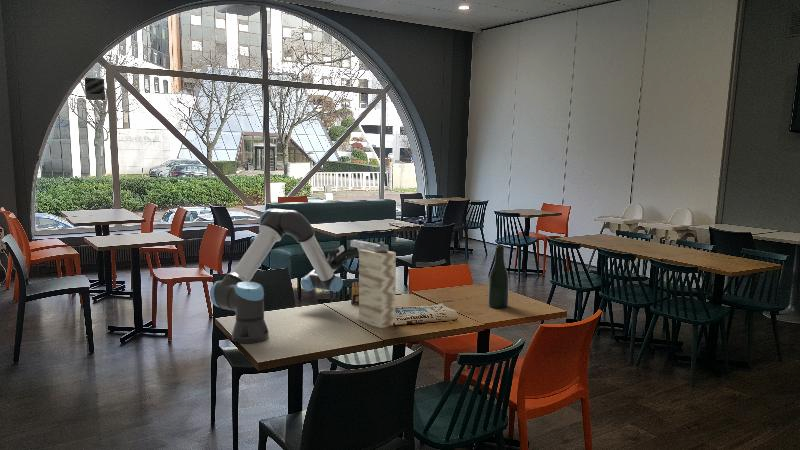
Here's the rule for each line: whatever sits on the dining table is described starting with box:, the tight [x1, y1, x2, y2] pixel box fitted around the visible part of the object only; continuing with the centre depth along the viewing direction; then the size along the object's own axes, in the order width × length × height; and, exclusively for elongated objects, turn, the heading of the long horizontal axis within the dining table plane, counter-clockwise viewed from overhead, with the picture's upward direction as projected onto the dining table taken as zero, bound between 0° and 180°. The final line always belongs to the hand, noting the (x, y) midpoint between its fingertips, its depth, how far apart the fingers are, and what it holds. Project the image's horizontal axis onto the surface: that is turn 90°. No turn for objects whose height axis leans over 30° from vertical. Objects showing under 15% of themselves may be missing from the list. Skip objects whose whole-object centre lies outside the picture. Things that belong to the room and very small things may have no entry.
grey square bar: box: [350, 239, 389, 253], centre depth 262 cm, size 6×25×5 cm, turn 41°
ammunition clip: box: [350, 281, 359, 305], centre depth 296 cm, size 11×2×12 cm, turn 121°
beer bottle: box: [487, 243, 510, 309], centre depth 290 cm, size 10×10×33 cm
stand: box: [358, 249, 397, 329], centre depth 259 cm, size 9×16×34 cm, turn 41°
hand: (354, 246), depth 271 cm, fingers open, 13 cm apart
